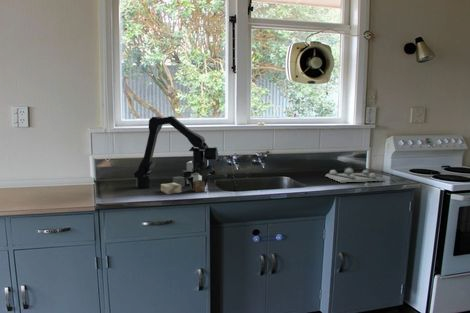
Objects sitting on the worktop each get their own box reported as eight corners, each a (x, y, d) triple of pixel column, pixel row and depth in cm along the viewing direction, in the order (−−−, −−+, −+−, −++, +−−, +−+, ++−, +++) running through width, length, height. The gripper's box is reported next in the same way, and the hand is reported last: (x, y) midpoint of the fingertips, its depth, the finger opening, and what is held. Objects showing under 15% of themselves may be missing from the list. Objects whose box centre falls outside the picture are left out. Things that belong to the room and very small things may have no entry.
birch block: (167, 194, 207) (167, 187, 206) (160, 191, 213) (160, 184, 213) (181, 192, 211) (181, 185, 211) (174, 189, 218) (174, 182, 217)
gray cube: (176, 187, 223) (176, 178, 222) (172, 185, 227) (172, 177, 226) (184, 186, 225) (184, 177, 225) (181, 184, 230) (181, 176, 229)
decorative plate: (340, 184, 237) (341, 172, 236) (324, 177, 258) (325, 166, 257) (385, 182, 244) (386, 171, 243) (366, 176, 265) (367, 165, 264)
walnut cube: (196, 191, 213) (196, 182, 212) (192, 190, 217) (192, 180, 216) (204, 190, 215) (204, 181, 214) (200, 189, 219) (200, 180, 219)
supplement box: (198, 184, 230) (198, 162, 228) (186, 184, 232) (186, 162, 230) (202, 182, 237) (202, 161, 235) (190, 181, 239) (190, 160, 237)
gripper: (188, 163, 202) (188, 193, 204) (221, 160, 212) (220, 189, 214) (179, 160, 212) (180, 189, 214) (211, 157, 221) (211, 185, 223)
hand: (198, 188), depth 216 cm, fingers open, 7 cm apart
